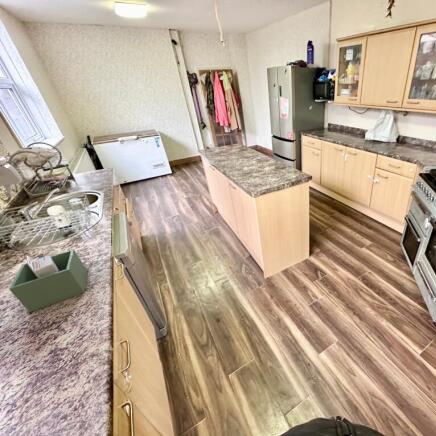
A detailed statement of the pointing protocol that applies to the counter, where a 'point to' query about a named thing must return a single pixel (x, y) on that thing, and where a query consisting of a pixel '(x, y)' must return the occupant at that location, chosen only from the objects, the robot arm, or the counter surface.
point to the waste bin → (50, 282)
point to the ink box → (42, 266)
